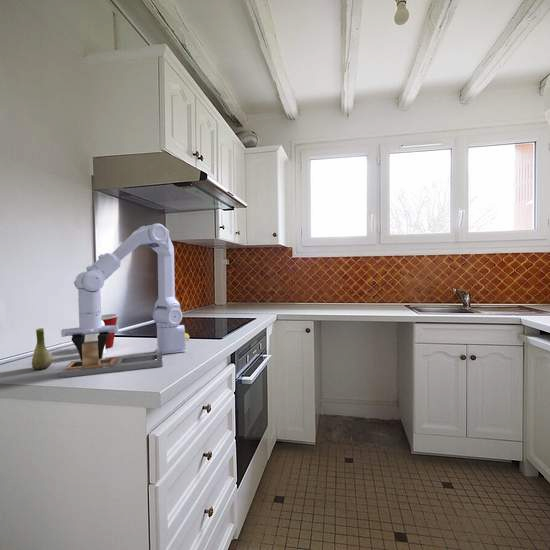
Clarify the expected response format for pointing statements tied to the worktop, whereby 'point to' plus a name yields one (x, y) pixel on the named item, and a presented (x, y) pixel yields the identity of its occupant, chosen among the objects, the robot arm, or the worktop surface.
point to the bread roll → (186, 336)
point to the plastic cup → (109, 321)
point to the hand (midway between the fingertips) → (91, 358)
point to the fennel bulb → (41, 352)
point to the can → (94, 337)
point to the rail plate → (113, 364)
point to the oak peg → (90, 353)
